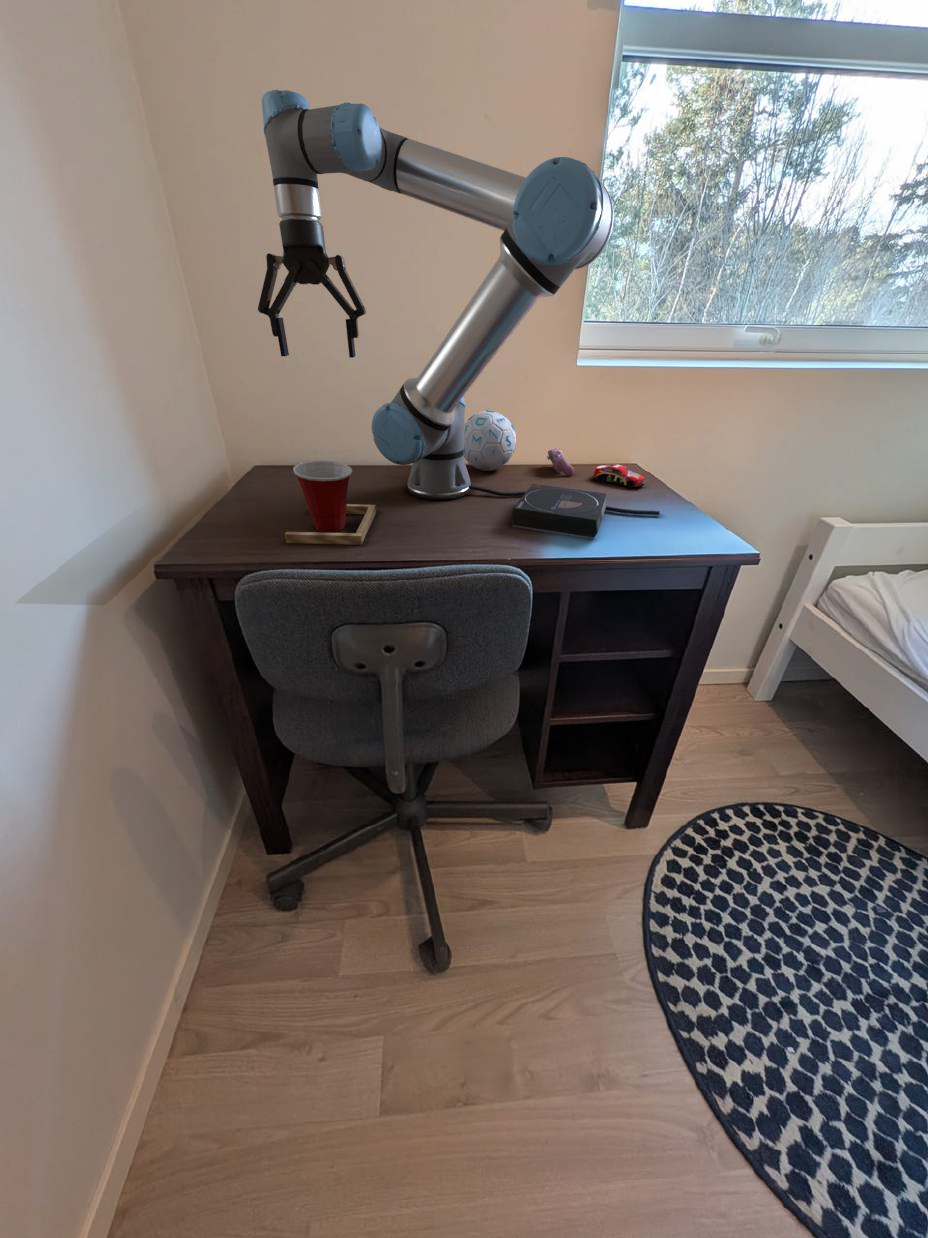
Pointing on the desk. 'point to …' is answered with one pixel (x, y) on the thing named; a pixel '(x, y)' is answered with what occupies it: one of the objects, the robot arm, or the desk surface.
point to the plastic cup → (325, 492)
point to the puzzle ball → (488, 440)
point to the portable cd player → (560, 511)
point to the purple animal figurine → (560, 462)
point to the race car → (619, 475)
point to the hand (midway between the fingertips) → (318, 356)
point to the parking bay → (338, 537)
